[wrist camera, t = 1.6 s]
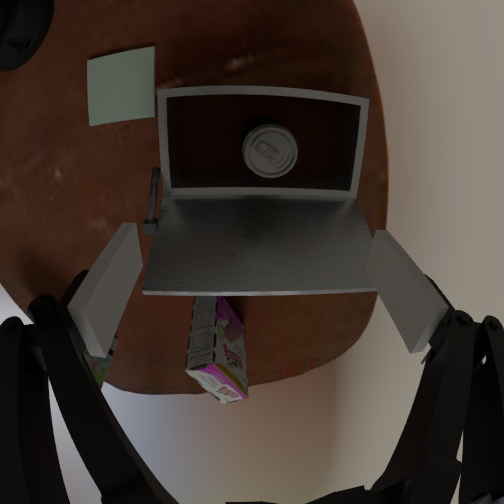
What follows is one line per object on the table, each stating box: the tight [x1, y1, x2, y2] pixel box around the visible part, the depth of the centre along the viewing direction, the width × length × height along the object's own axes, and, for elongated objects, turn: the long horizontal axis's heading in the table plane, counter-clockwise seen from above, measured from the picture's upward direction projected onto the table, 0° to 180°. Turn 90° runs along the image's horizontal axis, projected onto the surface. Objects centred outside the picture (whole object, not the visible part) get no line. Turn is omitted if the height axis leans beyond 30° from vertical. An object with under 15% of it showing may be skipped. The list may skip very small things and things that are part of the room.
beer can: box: [241, 116, 298, 178], centre depth 30 cm, size 5×5×12 cm
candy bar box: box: [185, 296, 248, 404], centre depth 44 cm, size 11×5×16 cm, turn 24°
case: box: [142, 86, 376, 296], centre depth 28 cm, size 18×25×18 cm
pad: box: [87, 47, 156, 126], centre depth 29 cm, size 10×10×1 cm
